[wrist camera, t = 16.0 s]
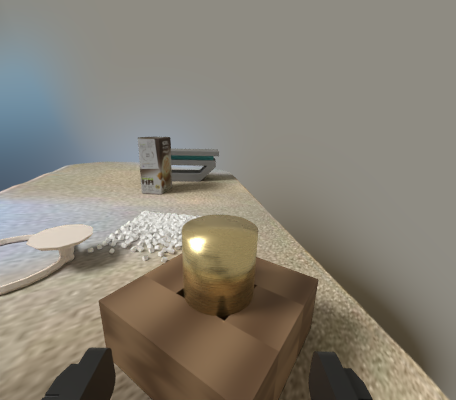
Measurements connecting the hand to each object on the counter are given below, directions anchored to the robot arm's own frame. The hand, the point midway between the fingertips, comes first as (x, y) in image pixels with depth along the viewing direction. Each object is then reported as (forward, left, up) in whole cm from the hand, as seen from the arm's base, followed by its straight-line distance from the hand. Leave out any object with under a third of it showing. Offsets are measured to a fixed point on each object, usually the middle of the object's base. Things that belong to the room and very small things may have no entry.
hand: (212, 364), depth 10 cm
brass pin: (-6, +9, -10) cm, 15 cm away
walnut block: (-6, +9, -11) cm, 16 cm away
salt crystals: (-28, +23, -12) cm, 38 cm away
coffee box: (-54, +42, -11) cm, 70 cm away
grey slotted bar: (-59, +59, -11) cm, 84 cm away
